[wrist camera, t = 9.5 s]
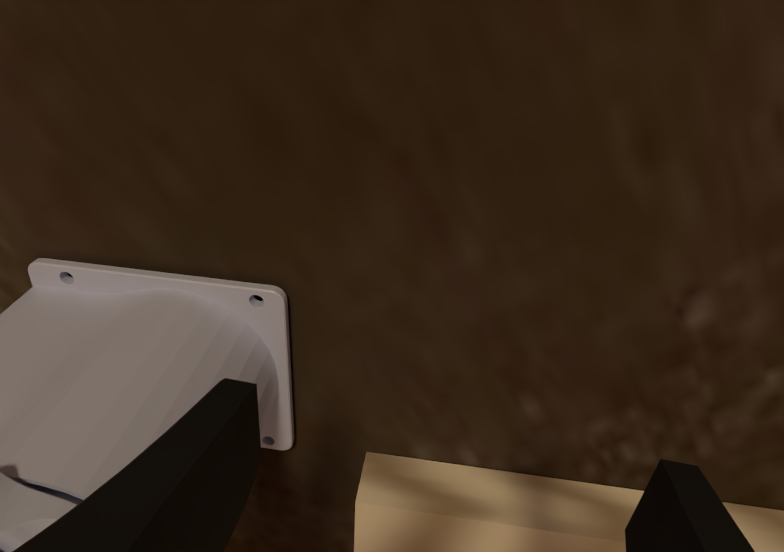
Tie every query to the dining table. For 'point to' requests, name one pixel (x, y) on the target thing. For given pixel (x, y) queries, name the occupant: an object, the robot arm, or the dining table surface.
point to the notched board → (506, 511)
